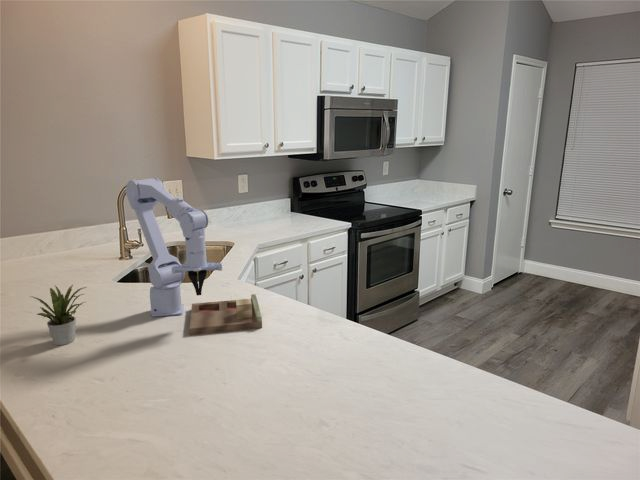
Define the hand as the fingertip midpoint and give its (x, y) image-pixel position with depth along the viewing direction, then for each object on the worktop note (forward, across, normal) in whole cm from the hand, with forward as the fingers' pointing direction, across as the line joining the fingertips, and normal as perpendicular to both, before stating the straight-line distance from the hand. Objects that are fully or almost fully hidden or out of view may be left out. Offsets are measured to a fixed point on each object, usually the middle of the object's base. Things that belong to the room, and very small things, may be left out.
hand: (199, 294), depth 138 cm
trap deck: (+9, +8, +2) cm, 12 cm away
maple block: (+7, +13, -2) cm, 15 cm away
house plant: (+10, -36, -4) cm, 37 cm away
